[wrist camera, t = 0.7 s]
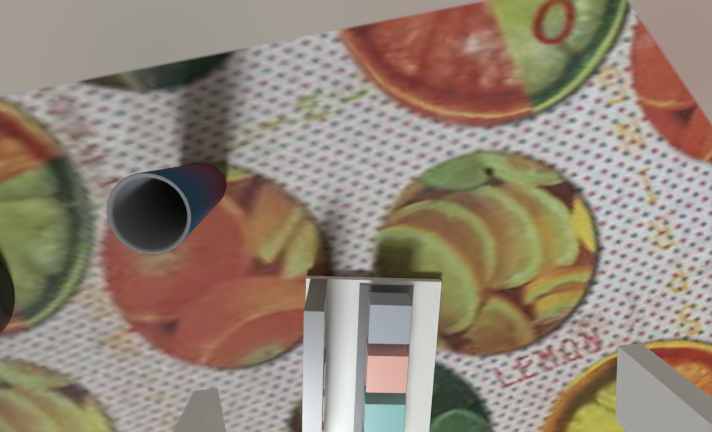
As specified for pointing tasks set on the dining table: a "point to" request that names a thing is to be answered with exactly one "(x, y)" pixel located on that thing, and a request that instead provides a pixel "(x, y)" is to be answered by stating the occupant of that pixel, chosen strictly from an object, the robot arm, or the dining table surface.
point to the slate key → (389, 318)
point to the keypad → (362, 350)
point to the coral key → (386, 368)
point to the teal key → (383, 412)
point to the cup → (163, 205)
